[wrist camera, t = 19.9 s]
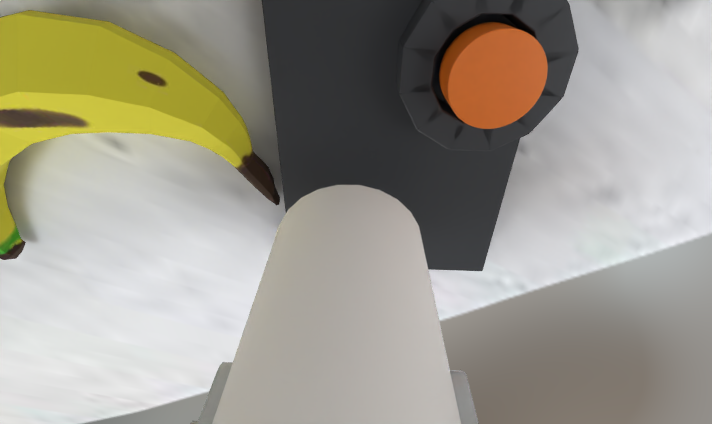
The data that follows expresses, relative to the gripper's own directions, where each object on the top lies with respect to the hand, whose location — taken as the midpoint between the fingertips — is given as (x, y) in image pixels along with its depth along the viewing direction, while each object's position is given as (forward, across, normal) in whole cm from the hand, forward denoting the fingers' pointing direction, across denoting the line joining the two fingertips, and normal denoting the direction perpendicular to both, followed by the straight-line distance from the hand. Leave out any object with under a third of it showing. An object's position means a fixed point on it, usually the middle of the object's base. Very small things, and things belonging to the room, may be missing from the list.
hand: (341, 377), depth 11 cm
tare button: (+8, -5, -7) cm, 12 cm away
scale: (+10, -2, -3) cm, 11 cm away
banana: (+11, +13, -1) cm, 17 cm away
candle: (+6, 0, 0) cm, 6 cm away
